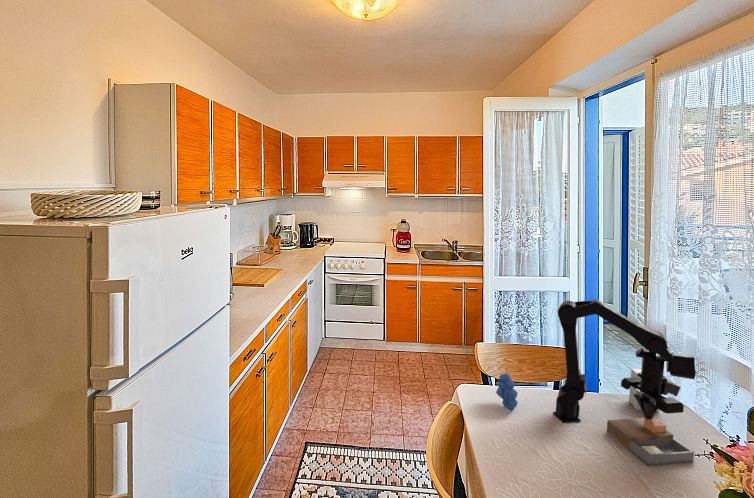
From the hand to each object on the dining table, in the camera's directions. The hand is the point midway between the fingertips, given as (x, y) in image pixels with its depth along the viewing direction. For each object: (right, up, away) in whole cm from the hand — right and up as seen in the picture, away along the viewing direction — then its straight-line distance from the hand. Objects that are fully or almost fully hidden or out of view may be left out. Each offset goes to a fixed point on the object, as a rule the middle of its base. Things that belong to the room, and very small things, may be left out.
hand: (648, 420), depth 131 cm
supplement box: (+11, -3, +20) cm, 23 cm away
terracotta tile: (0, -1, -3) cm, 3 cm away
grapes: (-39, -3, +18) cm, 43 cm away
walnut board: (-4, -5, -1) cm, 7 cm away
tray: (-3, -6, -10) cm, 12 cm away
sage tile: (-6, -4, -11) cm, 13 cm away
